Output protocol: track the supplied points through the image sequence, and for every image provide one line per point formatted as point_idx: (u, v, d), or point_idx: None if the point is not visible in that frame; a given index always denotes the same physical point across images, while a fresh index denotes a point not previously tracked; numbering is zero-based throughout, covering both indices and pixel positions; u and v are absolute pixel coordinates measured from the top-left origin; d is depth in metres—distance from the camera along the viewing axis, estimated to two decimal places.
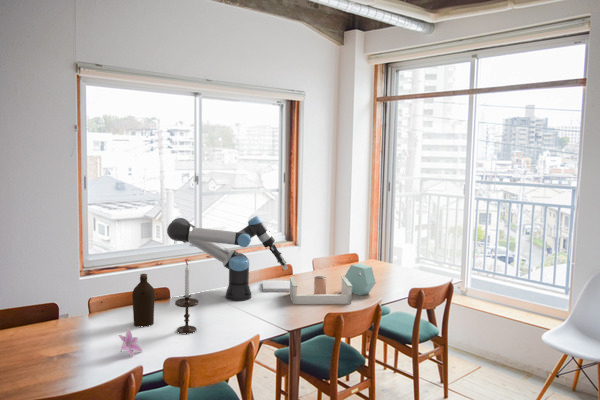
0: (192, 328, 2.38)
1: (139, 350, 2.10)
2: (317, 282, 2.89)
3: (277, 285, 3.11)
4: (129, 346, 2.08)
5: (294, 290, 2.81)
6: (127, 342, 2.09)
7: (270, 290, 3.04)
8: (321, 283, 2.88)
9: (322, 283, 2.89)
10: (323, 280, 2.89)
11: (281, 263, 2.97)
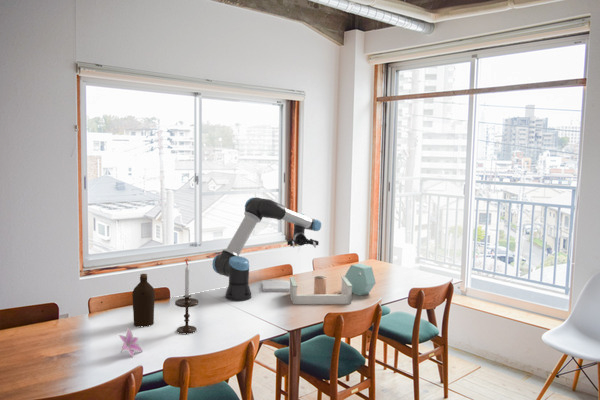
0: (192, 328, 2.38)
1: (139, 350, 2.10)
2: (317, 282, 2.89)
3: (277, 285, 3.11)
4: (129, 346, 2.08)
5: (294, 290, 2.81)
6: (127, 342, 2.09)
7: (270, 290, 3.04)
8: (321, 283, 2.88)
9: (322, 283, 2.89)
10: (323, 280, 2.89)
11: (316, 243, 3.17)
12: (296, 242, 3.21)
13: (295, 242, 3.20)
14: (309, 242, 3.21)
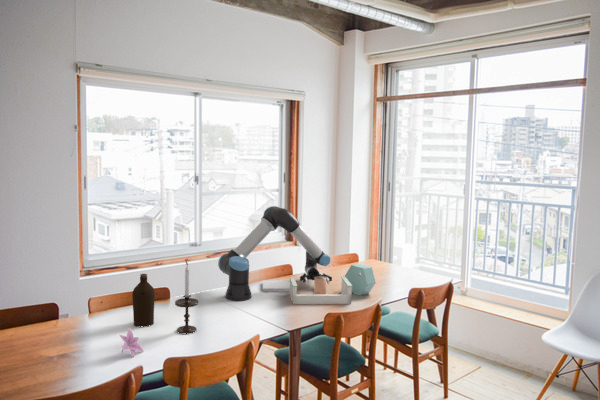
0: (192, 328, 2.38)
1: (140, 350, 2.10)
2: (317, 282, 2.89)
3: (277, 285, 3.11)
4: (130, 346, 2.09)
5: (294, 290, 2.81)
6: (128, 342, 2.09)
7: (270, 290, 3.04)
8: (321, 283, 2.88)
9: (322, 283, 2.89)
10: (323, 280, 2.89)
11: (329, 279, 3.08)
12: (309, 277, 3.12)
13: (308, 278, 3.11)
14: None
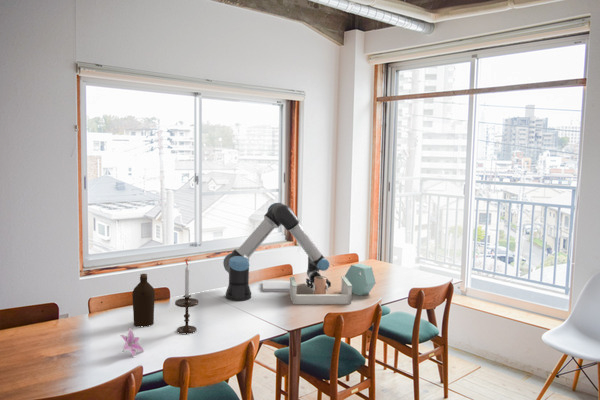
0: (192, 328, 2.38)
1: (141, 350, 2.10)
2: (317, 282, 2.89)
3: (277, 285, 3.11)
4: (131, 346, 2.09)
5: (294, 290, 2.81)
6: (129, 342, 2.09)
7: (270, 290, 3.04)
8: (321, 283, 2.88)
9: (322, 283, 2.89)
10: (323, 280, 2.89)
11: (328, 285, 2.94)
12: None
13: (313, 283, 2.99)
14: None
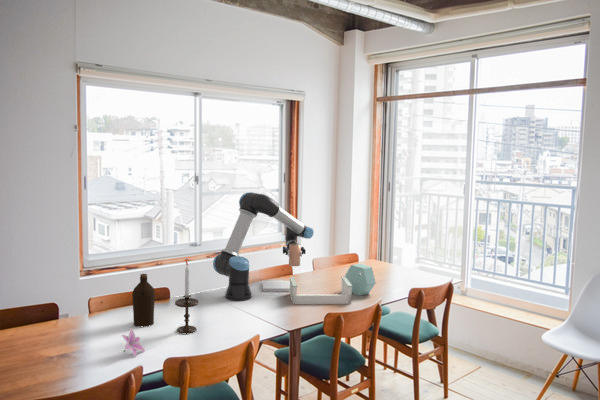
0: (192, 328, 2.38)
1: (142, 350, 2.10)
2: (291, 248, 3.02)
3: (277, 285, 3.11)
4: (132, 346, 2.09)
5: (294, 290, 2.81)
6: (130, 342, 2.09)
7: (270, 290, 3.04)
8: (295, 249, 3.02)
9: (296, 249, 3.02)
10: (297, 246, 3.02)
11: (303, 251, 3.08)
12: None
13: None
14: None
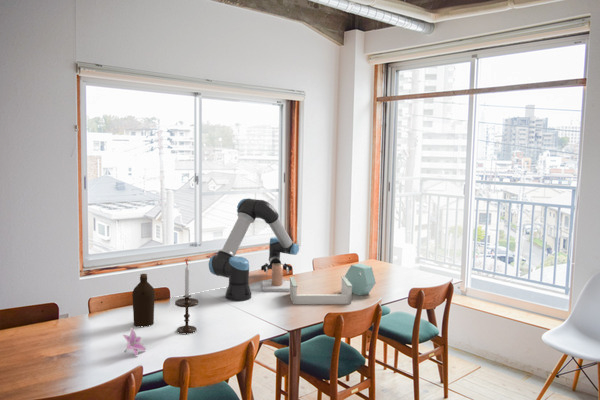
0: (192, 328, 2.38)
1: (143, 349, 2.11)
2: (274, 268, 3.10)
3: None
4: (133, 346, 2.09)
5: (294, 290, 2.81)
6: (131, 342, 2.09)
7: (270, 290, 3.04)
8: (278, 269, 3.09)
9: (279, 269, 3.09)
10: (280, 267, 3.10)
11: (289, 268, 3.17)
12: (270, 267, 3.21)
13: (269, 267, 3.20)
14: (283, 267, 3.21)
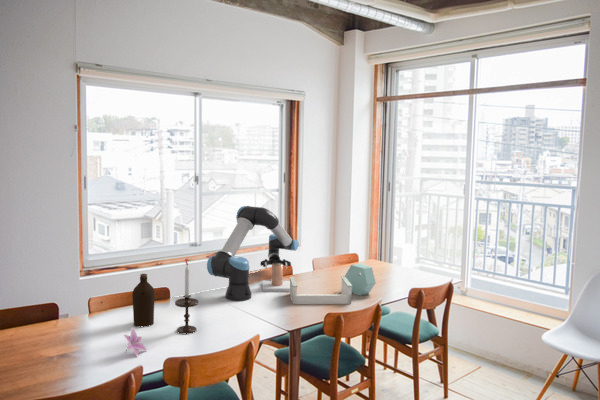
0: (192, 328, 2.38)
1: (144, 349, 2.11)
2: (274, 268, 3.10)
3: None
4: (134, 345, 2.09)
5: (294, 290, 2.81)
6: (132, 341, 2.10)
7: (270, 290, 3.04)
8: (278, 269, 3.09)
9: (279, 269, 3.09)
10: (280, 267, 3.09)
11: (288, 264, 3.28)
12: (269, 263, 3.32)
13: (268, 263, 3.31)
14: (282, 263, 3.33)
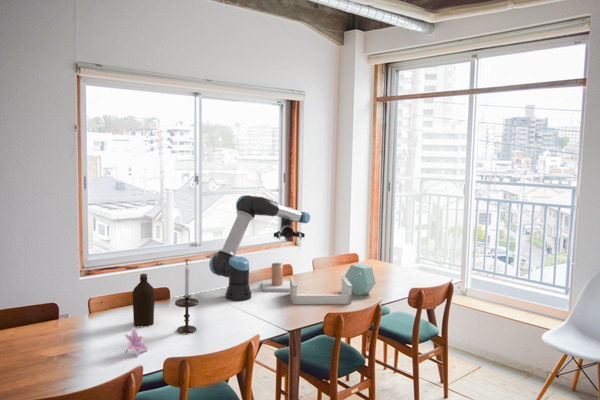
0: (192, 328, 2.38)
1: (145, 349, 2.11)
2: (274, 268, 3.10)
3: None
4: (135, 345, 2.09)
5: (294, 290, 2.81)
6: (133, 341, 2.10)
7: (270, 290, 3.04)
8: (278, 269, 3.10)
9: (279, 269, 3.10)
10: (280, 266, 3.10)
11: (302, 235, 3.20)
12: (282, 234, 3.24)
13: (281, 234, 3.23)
14: (296, 234, 3.24)
